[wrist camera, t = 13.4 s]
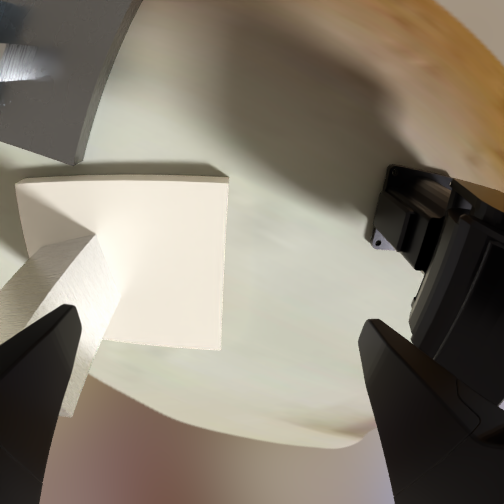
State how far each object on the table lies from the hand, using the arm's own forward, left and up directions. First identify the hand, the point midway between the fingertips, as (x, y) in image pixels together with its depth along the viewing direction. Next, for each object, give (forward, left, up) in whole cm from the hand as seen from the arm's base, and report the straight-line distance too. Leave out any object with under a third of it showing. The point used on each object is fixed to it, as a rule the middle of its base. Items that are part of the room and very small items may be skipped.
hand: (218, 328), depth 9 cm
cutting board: (+8, +6, -13) cm, 16 cm away
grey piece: (+15, -10, -13) cm, 22 cm away
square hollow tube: (+11, +6, -12) cm, 17 cm away
